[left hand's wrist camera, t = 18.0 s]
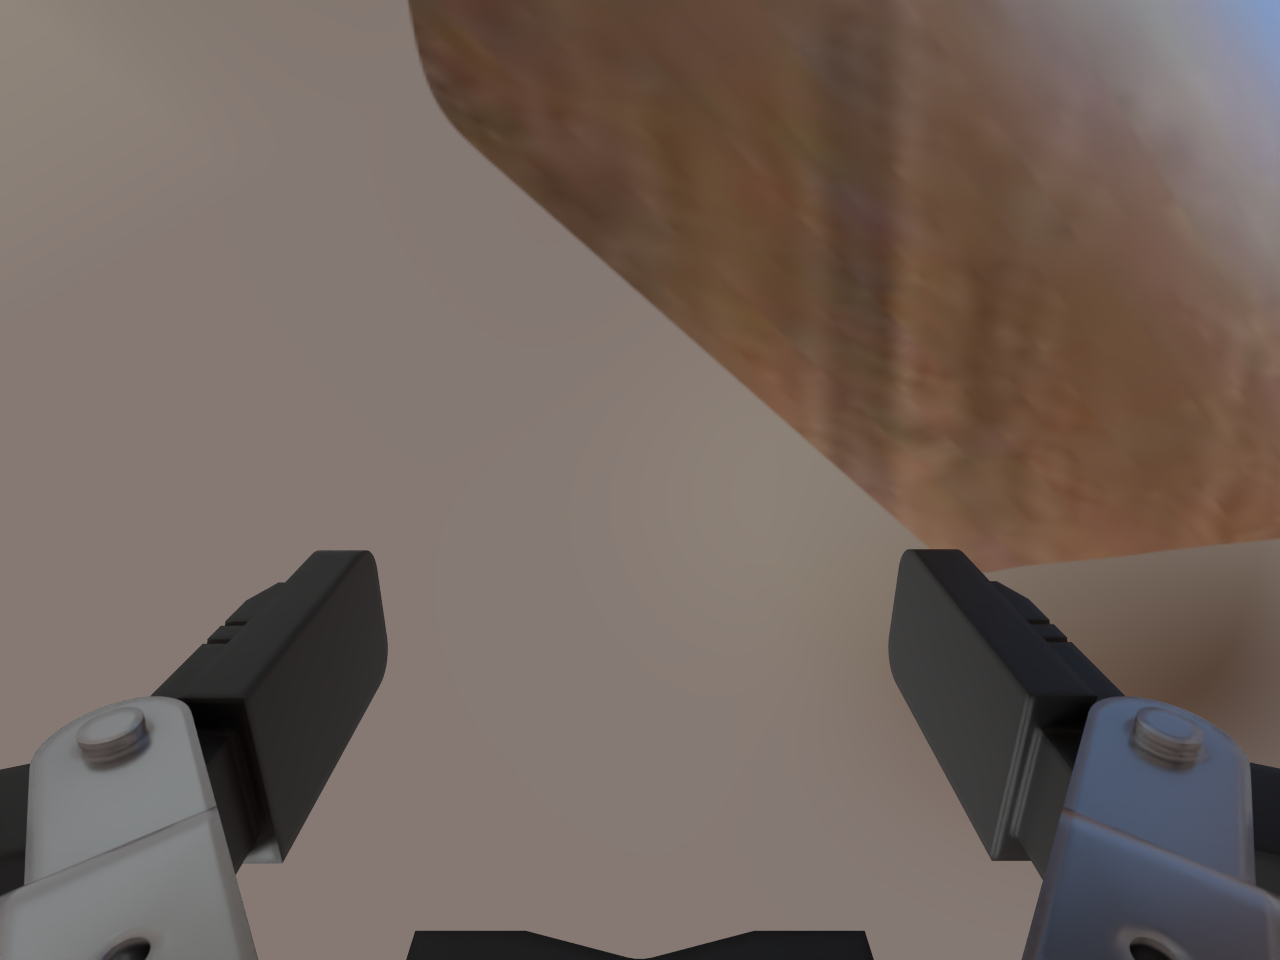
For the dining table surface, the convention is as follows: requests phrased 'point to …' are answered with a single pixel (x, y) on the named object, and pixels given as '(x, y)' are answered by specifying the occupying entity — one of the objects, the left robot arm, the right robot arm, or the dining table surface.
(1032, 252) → the dining table surface
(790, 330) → the dining table surface
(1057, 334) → the dining table surface
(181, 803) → the left robot arm
